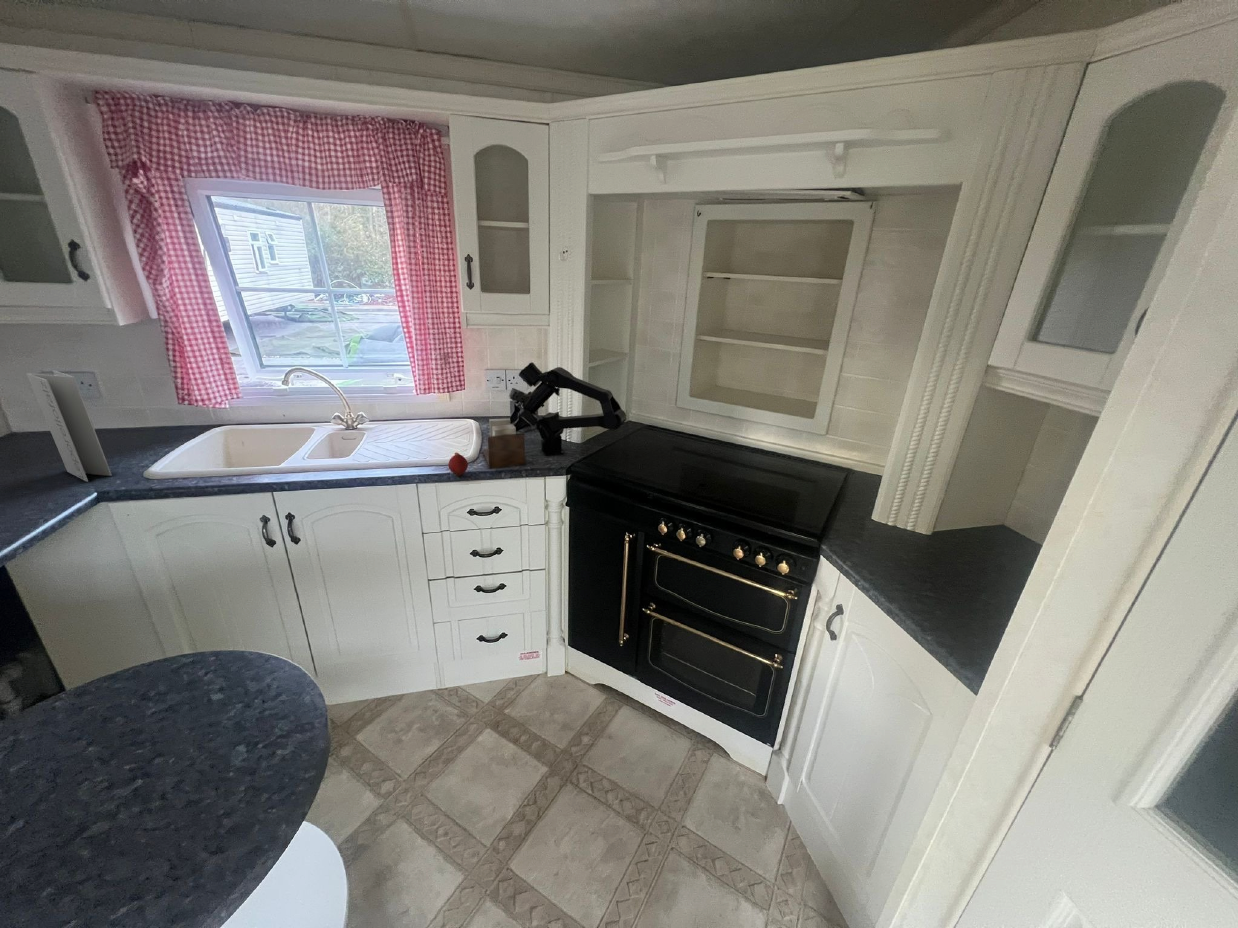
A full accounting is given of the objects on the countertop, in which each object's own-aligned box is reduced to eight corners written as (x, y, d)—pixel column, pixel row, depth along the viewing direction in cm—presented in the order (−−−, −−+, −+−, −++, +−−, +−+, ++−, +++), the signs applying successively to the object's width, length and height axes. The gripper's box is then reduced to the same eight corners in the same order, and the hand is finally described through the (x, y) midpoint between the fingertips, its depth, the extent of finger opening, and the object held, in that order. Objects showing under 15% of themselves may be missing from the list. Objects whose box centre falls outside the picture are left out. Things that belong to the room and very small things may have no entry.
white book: (491, 451, 176) (489, 419, 172) (511, 450, 178) (509, 418, 174) (491, 453, 175) (489, 421, 170) (511, 452, 176) (510, 420, 172)
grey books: (526, 424, 211) (525, 395, 206) (538, 427, 207) (537, 398, 203) (510, 429, 204) (509, 399, 199) (523, 432, 200) (522, 402, 196)
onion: (460, 470, 162) (458, 447, 159) (472, 475, 159) (470, 451, 156) (445, 476, 157) (443, 452, 154) (457, 480, 154) (455, 457, 151)
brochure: (67, 471, 150) (26, 373, 139) (91, 465, 154) (53, 370, 143) (87, 481, 144) (46, 380, 133) (112, 475, 148) (74, 376, 137)
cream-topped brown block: (515, 449, 182) (514, 415, 178) (525, 464, 169) (523, 428, 164) (482, 452, 178) (480, 417, 173) (489, 468, 164) (487, 431, 160)
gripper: (519, 374, 177) (489, 405, 178) (526, 387, 161) (493, 421, 162) (541, 395, 183) (512, 425, 184) (550, 409, 166) (518, 442, 167)
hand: (508, 427), depth 174 cm, fingers open, 9 cm apart
